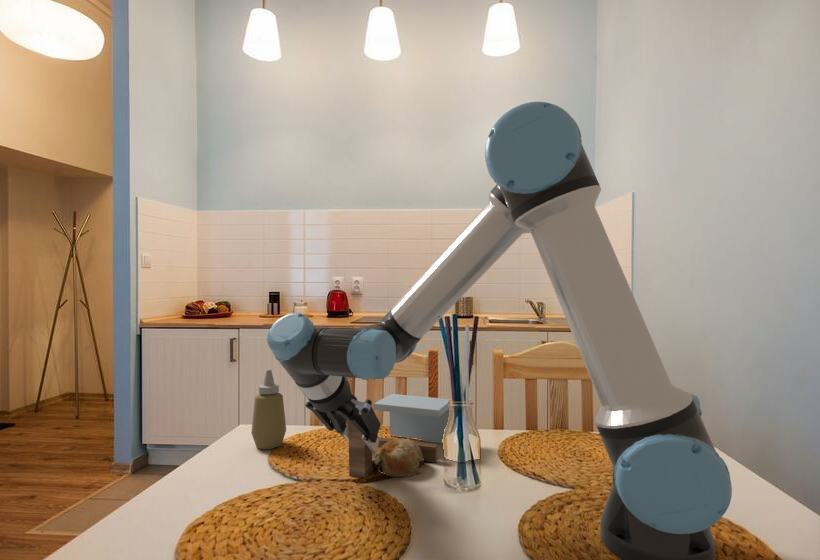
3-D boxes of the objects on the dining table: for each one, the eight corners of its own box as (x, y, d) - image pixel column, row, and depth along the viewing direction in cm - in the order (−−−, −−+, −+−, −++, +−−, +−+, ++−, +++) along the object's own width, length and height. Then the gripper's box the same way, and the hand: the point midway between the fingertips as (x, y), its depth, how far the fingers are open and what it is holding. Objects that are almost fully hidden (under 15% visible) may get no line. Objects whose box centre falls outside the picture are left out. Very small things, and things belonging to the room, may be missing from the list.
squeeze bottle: (243, 449, 112) (243, 372, 112) (264, 438, 120) (264, 366, 120) (274, 453, 110) (274, 374, 110) (292, 441, 117) (292, 368, 117)
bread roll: (410, 497, 95) (428, 462, 95) (365, 473, 97) (381, 437, 96) (417, 477, 105) (432, 445, 105) (375, 455, 107) (390, 423, 106)
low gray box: (438, 457, 107) (438, 410, 107) (373, 448, 113) (373, 403, 113) (452, 442, 116) (452, 399, 116) (391, 435, 122) (391, 393, 122)
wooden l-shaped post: (415, 486, 92) (414, 423, 92) (347, 475, 97) (346, 416, 97) (438, 459, 105) (437, 404, 105) (377, 450, 111) (376, 398, 110)
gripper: (372, 368, 85) (408, 433, 100) (292, 362, 91) (338, 424, 106) (358, 406, 80) (398, 468, 95) (275, 397, 86) (325, 457, 101)
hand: (366, 445), depth 101 cm, fingers closed on wooden l-shaped post, 4 cm apart
